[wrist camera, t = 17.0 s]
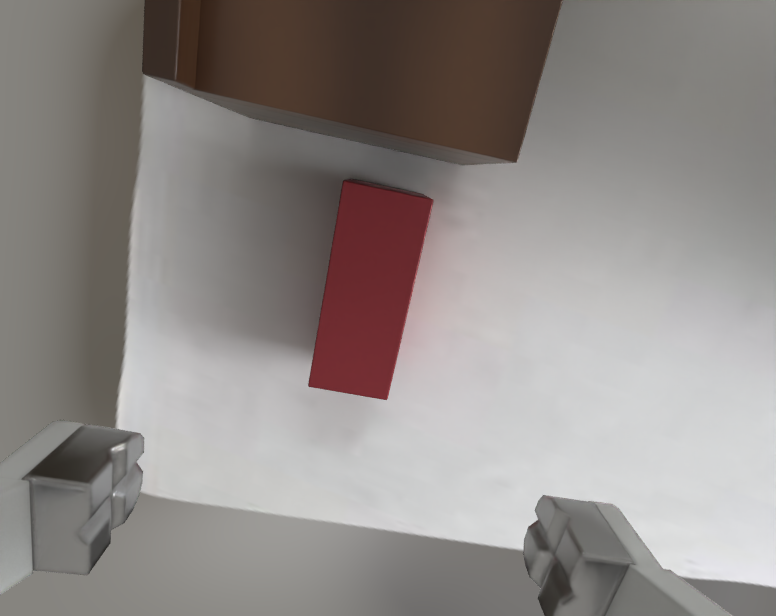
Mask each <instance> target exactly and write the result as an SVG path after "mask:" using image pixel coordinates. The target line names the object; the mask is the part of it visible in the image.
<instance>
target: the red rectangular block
mask: <svg viewBox="0 0 776 616" xmlns="http://www.w3.org/2000/svg"><path fill="white" fill-rule="evenodd" d="M432 205H433V199H431V198H429V197H427V196H425V195H424V194H420V193H415V192H410V191H406V190H401V189H397V188H392V187H387V186H383V185H378V184H373V183H369V182H364V181H359V180H355V179H347V180H344V181H343V184H342V190H341V196H340V202H339V208H338V213H337V219H336V225H335V231H334V237H333V243H332V249H331V254H330V260H329V266H328V272H327V278H326V284H325V290H324V296H323V301H322V307H321V313H320V319H319V325H318V331H317V337H316V343H315V348H314V354H313V360H312V366H311V372H310V378H309V384H308V386H309V387H314V388H320V389H325V390H331V391H337V392H343V393H349V394H355V395H360V396H366V397H372V398H378V399H384V400H387V399H388V395H389V390H390V386H391V382H392V377H393V373H394V369H395V364H396V360H397V356H398V352H399V347H400V343H401V339H402V334H403V330H404V326H405V321H406V317H407V313H408V309H409V304H410V300H411V296H412V291H413V287H414V283H415V279H416V274H417V270H418V266H419V261H420V257H421V253H422V248H423V244H424V240H425V236H426V231H427V227H428V223H429V218H430V214H431V210H432Z"/></svg>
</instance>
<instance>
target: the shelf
mask: <svg viewBox="0 0 776 616" xmlns="http://www.w3.org/2000/svg"><path fill="white" fill-rule="evenodd" d="M562 1H563V0H145V7H144V35H143V36H144V37H143V63H142V72H143V74H145V75H147V76H149V77H152V78H154V79H157V80H159V81H161V82H164V83H167V84H168V85H171V86H173V87H176V88H178V89H181V90H183V91H186V92H188V93H190V94H193V95H195V96H198V97H200V98H203V99H205V100H208V101H210V102H213V103H215V104H217V105H220V106H222V107H225V108H227V109H230V110H232V111H235V112H237V113H240V114H242V115H244V116H247V117H249V118H253V119H257V120H262V121H266V122H271V123H275V124H280V125H284V126H289V127H293V128H298V129H302V130H307V131H311V132H316V133H320V134H325V135H329V136H334V137H338V138H343V139H347V140H352V141H356V142H361V143H365V144H370V145H374V146H379V147H383V148H388V149H392V150H397V151H401V152H406V153H410V154H415V155H419V156H424V157H428V158H433V159H437V160H442V161H446V162H451V163H455V164H460V165H475V164H496V163H516V162H517V161H518V158H519V154H520V151H521V147H522V144H523V140H524V137H525V133H526V130H527V126H528V122H529V119H530V115H531V112H532V108H533V105H534V101H535V97H536V94H537V90H538V87H539V83H540V80H541V76H542V73H543V69H544V65H545V62H546V58H547V55H548V51H549V48H550V44H551V41H552V37H553V33H554V30H555V26H556V23H557V19H558V16H559V12H560V9H561V5H562Z"/></svg>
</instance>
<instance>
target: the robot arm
mask: <svg viewBox="0 0 776 616" xmlns="http://www.w3.org/2000/svg"><path fill="white" fill-rule="evenodd" d="M143 453H144V437H143V436H142V435H141V433H136V432H131V431H125V430H119V429H113V428H108V427H102V426H96V425H90V424H87V425H86V424H83V423H77V422H71V421H65V420H59V421H54V422H52V423H50V424H49V425H48V426H46V427H45V428H44V429H43V430H41V431H40V432H39V433H38V434H36V435H35V436H34V437H33V438H31V439H30V440H29V441H27V442H26V443H25V444H24V445H22V446H21V447H20V448H18V449H17V450H16V451H15V452H13V453H12V454H11V455H9V456H8V457H7V458H6V459H4V460H3V461H2V462H1V463H0V594H2V593H4V592H5V591H7V590H8V589H10V588H11V587H13V586H14V585H16V584H17V583H19V582H21V581H22V580H24V579H25V578H26V577H28V576H30V575H31V574H33V570H35V571H45V572H56V573H67V574H78V575H88V574H89V573H90V571H91V570H92V568H93V567H94V565H95V564H96V562H97V561H98V560H99V558H100V557H101V555H102V554H103V553H104V551H105V550H106V548H107V547H108V546H109V544H110V539H111V530H112V529H114V528H116V527H118V526H120V525H121V524H123V523H125V521H126V520H127V518H128V517H129V515H130V514H131V512H132V510H133V508H134V506H135V504H136V501H137V499H138V497H139V494H140V490H141V486H142V478H143V471H142V469H141V468H140V467H139V465H138V464H137V460H138V459H139V458H140V456H141V455H142V454H143ZM535 512H536V515H537V517H538V520H537V521H536V522H535V523H533V524H532V525H530V526H529V527H528V529H527V533H526V536H525V539H524V552H523V553H524V554H523V555H524V560H525V565H526V568H527V571H528V574H529V577H530V578H531V579H532V580H533V581H534V582H535V583H536V584H537V585H538V586H539V587H540V588H541V590H540V593H539V596H538V600H539V602H540V605H541V608H542V610H543V613H544V615H545V616H733V615H731V614H730V613H728V612H727V611H726V610H724V609H723V608H722V607H720V606H718V605H717V604H716V603H715V602H713V601H712V600H711V599H709V598H708V597H707V596H705V595H704V594H702V593H701V592H700V591H698V590H697V589H695V588H694V587H693V586H691V585H690V584H688V583H687V582H686V581H685V580H683V579H682V578H680V577H679V576H678V575H676V574H675V573H674V572H672V571H671V570H666V569H663V568H662V567H661V566H660V564H659V563H658V562H657V560H656V559H655V557H654V556H653V555H652V553H651V552H650V551H649V549H648V548H647V546H646V545H645V544H644V542H643V541H642V540H641V538H640V537H639V536H638V534H637V533H636V531H635V530H634V529H633V527H632V526H631V525H630V523H629V522H628V521H627V519H626V518H625V516H624V515H623V514H622V512H621V511H620V510H619V508H617V507H616V506H614V505H613V504H610V503H602V502H594V501H588V502H587V501H580V500H574V499H567V498H560V497H553V496H546V495H543V496H542V497H541V498H540V499H539V501H538V503H537V506H536V508H535Z"/></svg>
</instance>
